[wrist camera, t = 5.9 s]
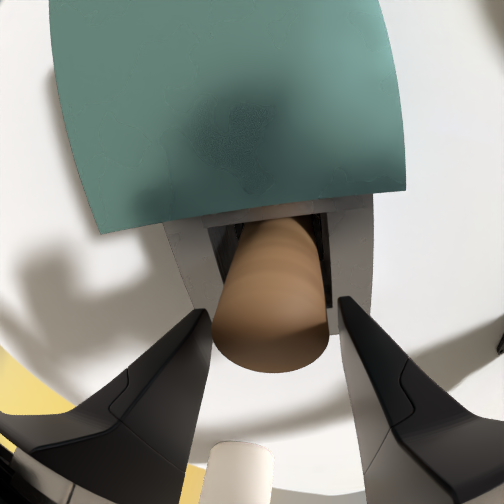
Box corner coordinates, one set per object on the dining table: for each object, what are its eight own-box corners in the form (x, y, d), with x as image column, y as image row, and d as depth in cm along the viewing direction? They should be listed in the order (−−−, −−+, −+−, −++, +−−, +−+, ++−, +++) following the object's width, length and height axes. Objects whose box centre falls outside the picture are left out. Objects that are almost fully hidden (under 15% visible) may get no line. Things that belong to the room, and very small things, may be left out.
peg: (315, 249, 15) (329, 369, 9) (253, 256, 16) (227, 374, 9) (308, 188, 14) (327, 286, 7) (240, 198, 14) (195, 297, 8)
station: (362, 281, 16) (386, 360, 11) (201, 296, 18) (171, 371, 13) (311, -52, 7) (320, -117, 2) (121, -3, 9) (49, -29, 4)
